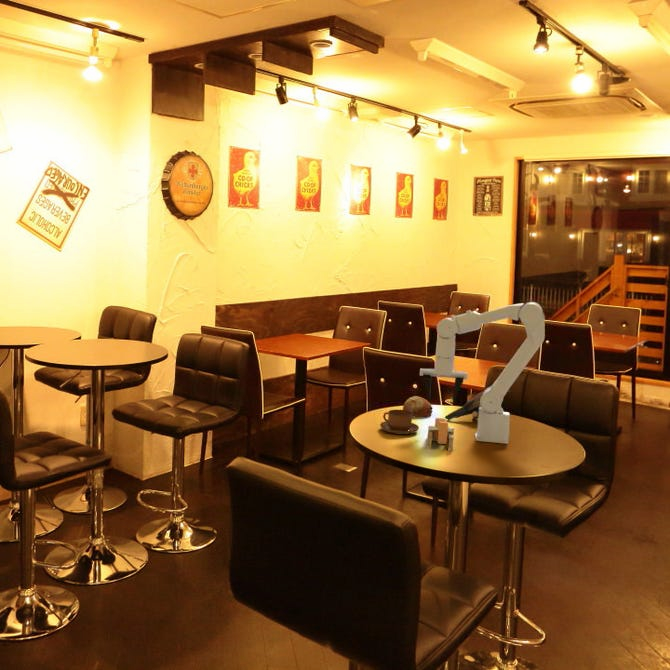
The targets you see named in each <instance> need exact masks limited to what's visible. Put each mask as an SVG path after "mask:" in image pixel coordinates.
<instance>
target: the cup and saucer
mask: <svg viewBox="0 0 670 670" xmlns="http://www.w3.org/2000/svg"><path fill="white" fill-rule="evenodd" d="M386 415H387V417H388V418H386ZM382 418H383V420H384V421H383V422H381V423H380V424H379V425H380V428H381V429H382V430H383V431H385V432H387V433H391V434H397V435H409V434H414V433H416V432H418V431H419V430H420V429H419V428H420V427H419V425H418V424H416V423H413V422H412V421H413V417H412V412H410V411H406V410H403V409H391V410H388V411H385V412H384V413H383V415H382ZM408 430H409V431H408Z"/></svg>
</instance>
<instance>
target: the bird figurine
mask: <svg viewBox="0 0 670 670" xmlns="http://www.w3.org/2000/svg"><path fill="white" fill-rule="evenodd" d="M484 391H485V390H484ZM484 391H483V390H482V391H481V392H479V393H477V394H476V395H475V396H474V397H473V398H472V399H470V400H468V401H467V402H466V403H465V404H464V405H463V406H461V407H459V408H458V409H455V410H454V411H452V412H450V413H448V414H447V415H445V417H444V419H445V420H446V421H447V422H448V421H451V420H453V419H458V418H461V417H464V416H469V415H472V418H473V419H474V418H475V419H476V420H478V416H479V407H481V405H480V399H481V396H482V395H483V393H484ZM507 393H511V391H510V389H509V390H508V391H507Z"/></svg>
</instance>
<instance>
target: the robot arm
mask: <svg viewBox="0 0 670 670" xmlns="http://www.w3.org/2000/svg"><path fill="white" fill-rule="evenodd" d="M465 312H466V313H462V314H458V315H455V314H452V315H450V317H445V318H443V319H441V320H440V321H439V322H438V323H437V325H436V332H437V336H436V337H437V338H436V339H437V340H436V347H435V358H434V359H435V361H434V368H420V369H419V376H422V380H423V383H424V385H425V388H426V393H427V401H428V400H431V384H432V377H437V378H448V379H454V387H453V388H454V390H453V394H452V395H453V396H452V402H453V403H455V402H456V399H457V397H458V396H457V395H458V393H459V390H460V388H461V387H462V385H463V384H464V381H465V380H466V381H467V380H468V374H469V373H468V372H464V371H458V370H454V365H455V355H456V354H455V352H456V334H458V335H462V334H465V333H469V332H473V331H477V330H480V329H481V328H482V326H483V324H489V323H491V322H496V321H500V320H501V321H502V320H506V319H509V320H510V319H511V320H514V321H518V320H520V321H521V324H522V325H523V326H524V327H525V332H526V338H525V340H524V342H522V343H521V345H520V347H519V348H518V349H517V350H516V352H515V353H514V355H513V356H512V358H511V359H510V361H509V362H508V363H507V364H506V366H505V368H504V369H503V370H502V372H501V373H500V374H499V376H498V377H497V378H496V380H495V381H494V382H493V384H492V385H491V386H489V387H486V389H485V390H484V393H483V395H482V396H481V399H480V405H481V407H479V416H478V419H477V428H476V429H477V430H476V432H475V435H474V436H475V437H474V438H475V441H477V442H486V443H498V444H506V445H507V444H509V436H510V416H511V415H510V412H509V411H504V409H503V407H502V403H503V402H504V397H505V396H506V395H507V393H508V392H507V391H508V390H509V391H510V388H511V387H512V386H513V384H514V383H515V381H516V380H517V379H518V378H519V376H520V374H521V373H522V372H523V370H524V369H525V368H526V366H527V365H528V363H529V362H530V361H531V359H532V358H533V356H534V355H535V354H536V352H537V351H538V350H539V348H540V347H541V346H542V345H543V343H544V341H545V337H546V334H545V332H546V329H545V327H546V326H545V318H546V316H545V314H544V311H543V308H542V306H541V305H540V304H539V303H538V302H534V301H528V302H526V303H524V302H523V303H522V302H521V303H515V304H510V305H506V306H502V307H499V308H496V309H491V310H488V311H484V312H482V313H480V312H477V311H476V310H473V311H472V310H470V309H469V310H466V311H465Z"/></svg>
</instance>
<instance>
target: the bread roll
mask: <svg viewBox="0 0 670 670" xmlns="http://www.w3.org/2000/svg"><path fill="white" fill-rule="evenodd" d="M402 410H406V411H410V412H412V418H428V416H429V417H430V416H431V415H432V414H433V407H432V404H431V403H430V401H428V399H425V397H424V398H423V397H421V396H417V395H414V396H411V397H409V398H408V399H406V401H405V402H404V404H403V406H402Z"/></svg>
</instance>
